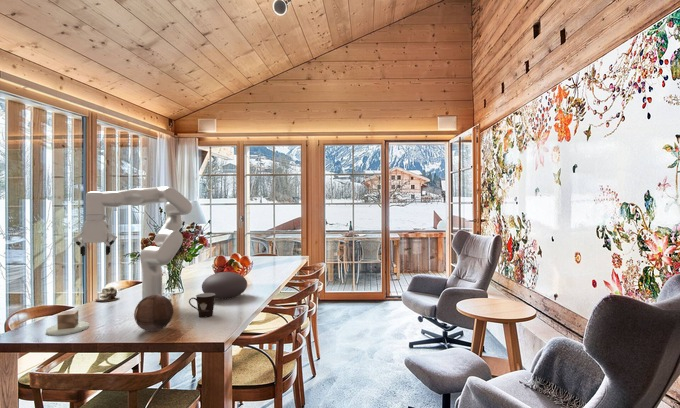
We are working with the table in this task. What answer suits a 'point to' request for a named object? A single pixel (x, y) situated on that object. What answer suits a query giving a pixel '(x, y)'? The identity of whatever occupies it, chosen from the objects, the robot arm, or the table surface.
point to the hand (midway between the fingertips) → (95, 255)
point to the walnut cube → (67, 319)
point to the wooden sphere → (153, 312)
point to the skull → (108, 294)
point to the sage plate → (55, 331)
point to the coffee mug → (204, 304)
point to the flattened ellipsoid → (225, 285)
